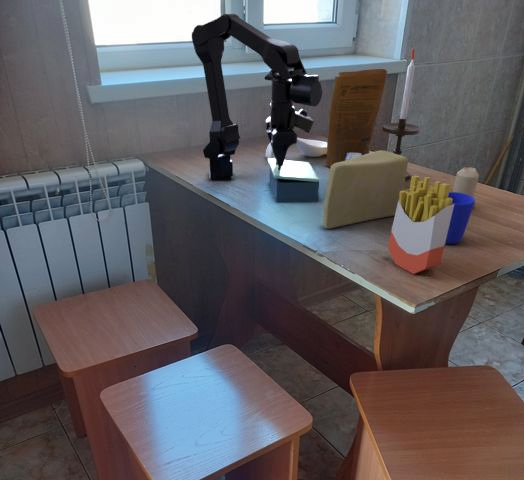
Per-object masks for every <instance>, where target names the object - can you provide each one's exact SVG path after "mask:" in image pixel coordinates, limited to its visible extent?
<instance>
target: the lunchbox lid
mask: <svg viewBox="0 0 524 480" xmlns="http://www.w3.org/2000/svg"><path fill="white" fill-rule="evenodd" d="M267 164H268V166H269V170H270V169H271V171H272V173H273V176H274V178H280V179H291V180H302V181H313V182H319V183H320V178H319V177H318V175H317V173H316V171H314V169H313V166H312V165H311V164H310V162H309V161H299V160H287V159H285V160H284V163H283V166H282V167H279V166H278V163H277V160H276V159H275V158H273V159H269V158H267Z"/></svg>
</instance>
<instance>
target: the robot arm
mask: <svg viewBox="0 0 524 480" xmlns="http://www.w3.org/2000/svg"><path fill="white" fill-rule="evenodd" d="M231 37H232V38H234V39H235V40H237V41H238V42H240V43H242V44H243V45H244V46H245V47H248V48H249V49H251V50H252V51H254V52H255V53H256V54H258V55H259V56H260V57H261V58H262V61H263V63H264V64H265V65H266V66H267V67H268V68H269V69H270V71H269V72H268V73H267V74H266V75H264V80H265V81H271V90H270V103H269V109H270V116H268V117H267V118H266V119H265V129H266V134H267V137H268V141H269V143H270V144H271V147H272V150H273V157H274V159H276V160H277V163H278V166H279V167H282V166H283V163H284V160H286V157H287V153H288V149H289V148H290V147H291V146H293V145H295V144H296V143H297V138H298V134H297V132H296V131H294V129H295V128H297V129H300V130H302V131H304V132H305V133H308V134H310V132H311V130H312V128H313V124H314V123H315V122H314V119H313V118H312V117H310V116H308V112H307V110H306V109H303V108H301V109H299V110H298V111H296V108H295V106H294V104H297V105H303V106H309V107H317V106H318V105H319V104H320V102H321V100H322V97H323V91H324V89H323V87H322V84H321V82H320V81H319V80H320V76H319V75H318V74H311V75H310V74H308V72H307V70H306V68H305V66H304V64H303V62H302V59H301V57H300V53H299V49H298V47H297V46H296V45H294V44H293V43H290V42H287V41H284V40H280V39H275V38H272V37H270V36H269V35H267V34H266V33H264V32H263V31H261V30H259V29H258V28H257V27H255V26H253V25H252V24H250V23H249V22H247V21H245V20H244V19H242V18H241V17H240V16H239V15H238V14H236V13H224V14H222V15H220V16H219V17H217V18H215V19H213V20H210V21H208V22H207V23H204V24H198V25H195V27H194V28H193V30H192V32H191V42H192V45H193V48H194V52H195V54H196V56H197V57H198V59H199V60H200V62H201V64H202V66H203V70H204V71H203V73H204V78H205V84H206V90H207V95H208V103H209V108H210V114H211V125H210V128H209V133H208V134H209V135H208V136H209V141H208V143H207V144H206V146H205V147H204V148H203V149H202V153H203V157H204V158H205V159H209V180H210V181H219V180H220V181H222V180H223V181H225V180H227V181H231V180H232V177H233V175H234V168H233V167H234V166H233V165H234V163H233V160H232V159H231V158H232V157H231V156H233V155H235V154H236V151H237V148H238V146H239V144H240V140H241V135H240V133H239V132H240V131H239V125H238V123H233V121H232V120H231V118H230V112H229V107H228V106H229V105H228V100H227V99H228V98H227V93H226V85H225V79H224V72H223V66H222V59H223V55H224V52H225V41H226V40H228V39H231Z"/></svg>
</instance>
